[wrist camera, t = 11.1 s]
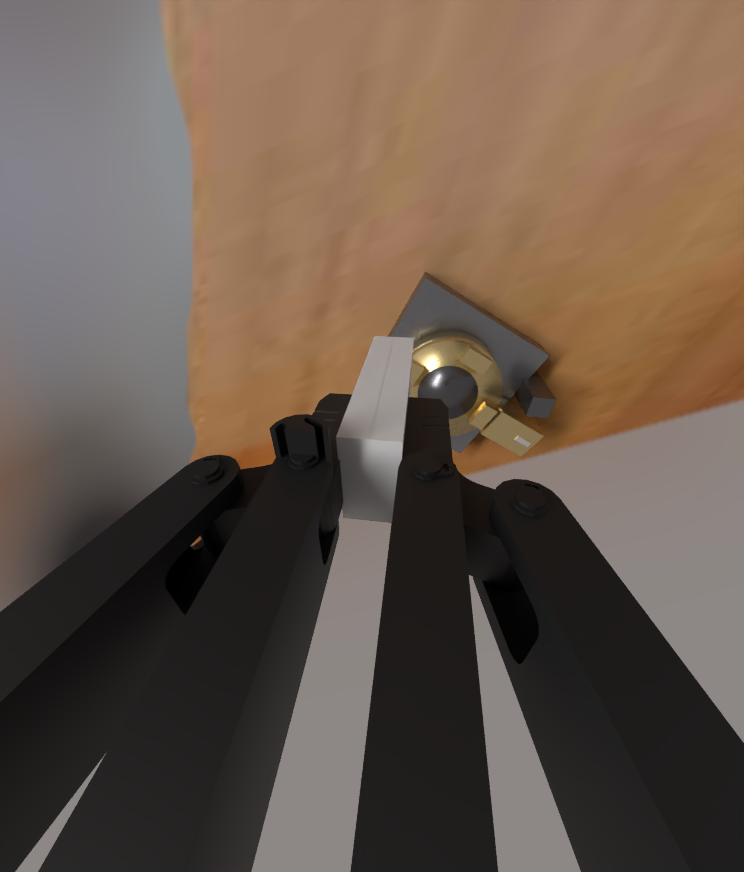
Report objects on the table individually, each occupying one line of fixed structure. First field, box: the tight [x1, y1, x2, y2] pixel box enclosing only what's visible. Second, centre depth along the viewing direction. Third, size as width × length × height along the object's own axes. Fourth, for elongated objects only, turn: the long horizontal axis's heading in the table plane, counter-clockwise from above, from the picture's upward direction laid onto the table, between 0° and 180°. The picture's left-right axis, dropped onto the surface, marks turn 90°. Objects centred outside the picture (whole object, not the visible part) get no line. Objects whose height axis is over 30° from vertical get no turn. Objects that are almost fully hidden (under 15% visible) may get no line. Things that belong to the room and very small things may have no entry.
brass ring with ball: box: [410, 331, 544, 457], centre depth 33 cm, size 15×10×4 cm, turn 61°
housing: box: [388, 272, 556, 453], centre depth 34 cm, size 14×16×7 cm
